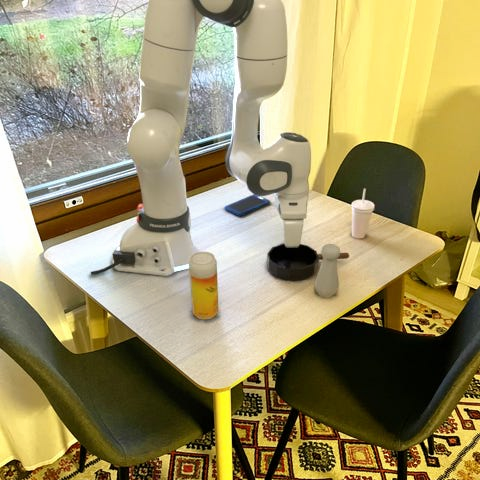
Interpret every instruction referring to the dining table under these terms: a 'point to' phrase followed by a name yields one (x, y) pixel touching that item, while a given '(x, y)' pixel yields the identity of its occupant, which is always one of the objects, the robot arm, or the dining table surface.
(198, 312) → the glass of yellow beer
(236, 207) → the cell phone
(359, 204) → the smoothie
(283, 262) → the pan
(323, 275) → the salt shaker
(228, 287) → the dining table surface
